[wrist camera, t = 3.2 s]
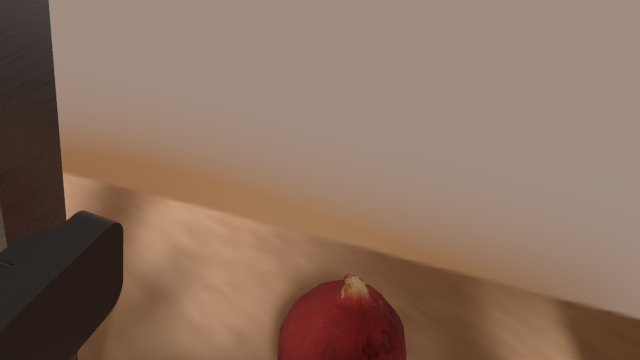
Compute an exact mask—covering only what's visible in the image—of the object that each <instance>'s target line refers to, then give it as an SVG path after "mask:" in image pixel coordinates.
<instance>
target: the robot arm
mask: <svg viewBox="0 0 640 360" xmlns="http://www.w3.org/2000/svg"><path fill="white" fill-rule="evenodd" d="M122 285H123V227H122V225H121V224H120V223H117V222H114V221H112V220H109V219H106V218H103V217H101V216H98V215H95V214H92V213H89V212H87V211H79V212H77V213H76V214H74V215H73V216H72V217H71V218H69V219H68V220H67V221H66V222H65V223H64V224H62V225H61V226H60V227H59V228H58V229H57V230H54V229H51V228H48V227H44V228H42V229H40V230H37V231H35V232H32V233H30V234H28V235H25V236H23V237H21V238H18V239H16V240H15V241H14V242H13V243H11V244H10V245H9V246H8V247H7V248H5V249H4V250H3V251H2V252H0V360H70V359H71V358H72V357H73V356H74V355H75V353H76V352H77V351H78V350H79V349H80V348H81V346H82V345H83V344H84V343H85V342H86V340H87V339H88V338H89V337H90V336H91V335H92V333H93V332H94V331H95V330H96V329H97V328H98V326H99V325H100V324H101V323H102V322H103V321H104V319H105V318H106V317H107V316H108V315H109V313H110V312H111V311H112V309H113V308H114V306H115V304H116V302H117V300H118V298H119V296H120V293H121V289H122Z"/></svg>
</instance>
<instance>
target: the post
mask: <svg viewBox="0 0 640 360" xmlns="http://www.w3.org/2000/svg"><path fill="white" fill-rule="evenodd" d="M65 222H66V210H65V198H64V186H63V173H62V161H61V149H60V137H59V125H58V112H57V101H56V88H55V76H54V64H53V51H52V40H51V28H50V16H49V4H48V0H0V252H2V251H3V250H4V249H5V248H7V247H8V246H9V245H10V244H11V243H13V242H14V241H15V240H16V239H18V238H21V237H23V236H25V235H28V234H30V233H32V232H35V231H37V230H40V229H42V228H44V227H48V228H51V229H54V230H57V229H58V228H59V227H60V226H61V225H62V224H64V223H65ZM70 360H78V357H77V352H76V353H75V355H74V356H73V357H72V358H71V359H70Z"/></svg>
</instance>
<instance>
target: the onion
mask: <svg viewBox="0 0 640 360" xmlns="http://www.w3.org/2000/svg"><path fill="white" fill-rule="evenodd" d="M278 360H406V349H405V338H404V329H403V324H402V322H401V320H400V317H399V316H398V314H397V313H396V312H395V310H394V309H393V308H392V307H391V306H390V304H389V303H388V302H387V301H386V300H385V298H384V297H383V296H382V294H381V293H379V292H378V291H377V290H375V289H374V288H372V287H371V286H370V285H367V284H364V282H363V281H362V280H361V279H360V278H358V277H356V276H353V275H349V274H347V275H346V276H345V277H344V280H338V281H332V282H326V283H322V284H320V285H318V286H317V287H315V288H314V289H312V290H310V291H309V292H307V293H306V294H304V295H303V296H301V297H300V298H299V299H298V300H297V301H296V302H295V304H294V305H293V307H292V308H291V310H290V311H289V313H288V314H287V316H286V318H285V320H284V322H283V324H282V326H281V328H280V336H279V345H278Z"/></svg>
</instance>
